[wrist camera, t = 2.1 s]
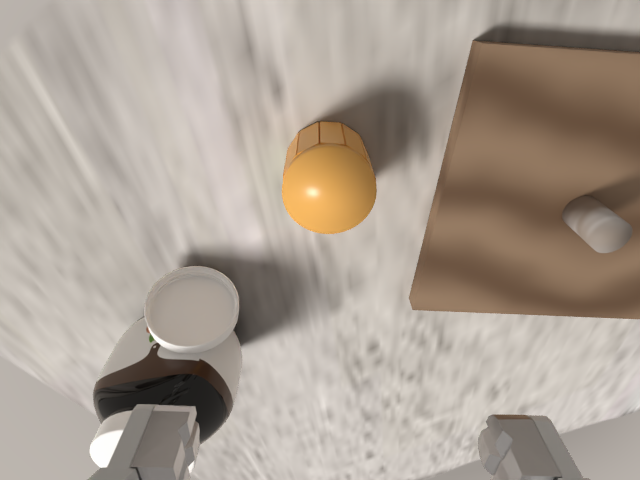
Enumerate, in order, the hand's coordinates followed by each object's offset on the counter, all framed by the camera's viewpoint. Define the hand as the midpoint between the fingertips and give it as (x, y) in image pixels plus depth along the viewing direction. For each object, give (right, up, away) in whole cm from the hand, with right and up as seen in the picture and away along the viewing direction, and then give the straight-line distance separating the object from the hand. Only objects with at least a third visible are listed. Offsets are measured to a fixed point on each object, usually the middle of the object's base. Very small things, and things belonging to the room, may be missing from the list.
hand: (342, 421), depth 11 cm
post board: (+18, +8, +18) cm, 26 cm away
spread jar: (-12, -1, +24) cm, 27 cm away
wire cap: (0, +11, +16) cm, 19 cm away
